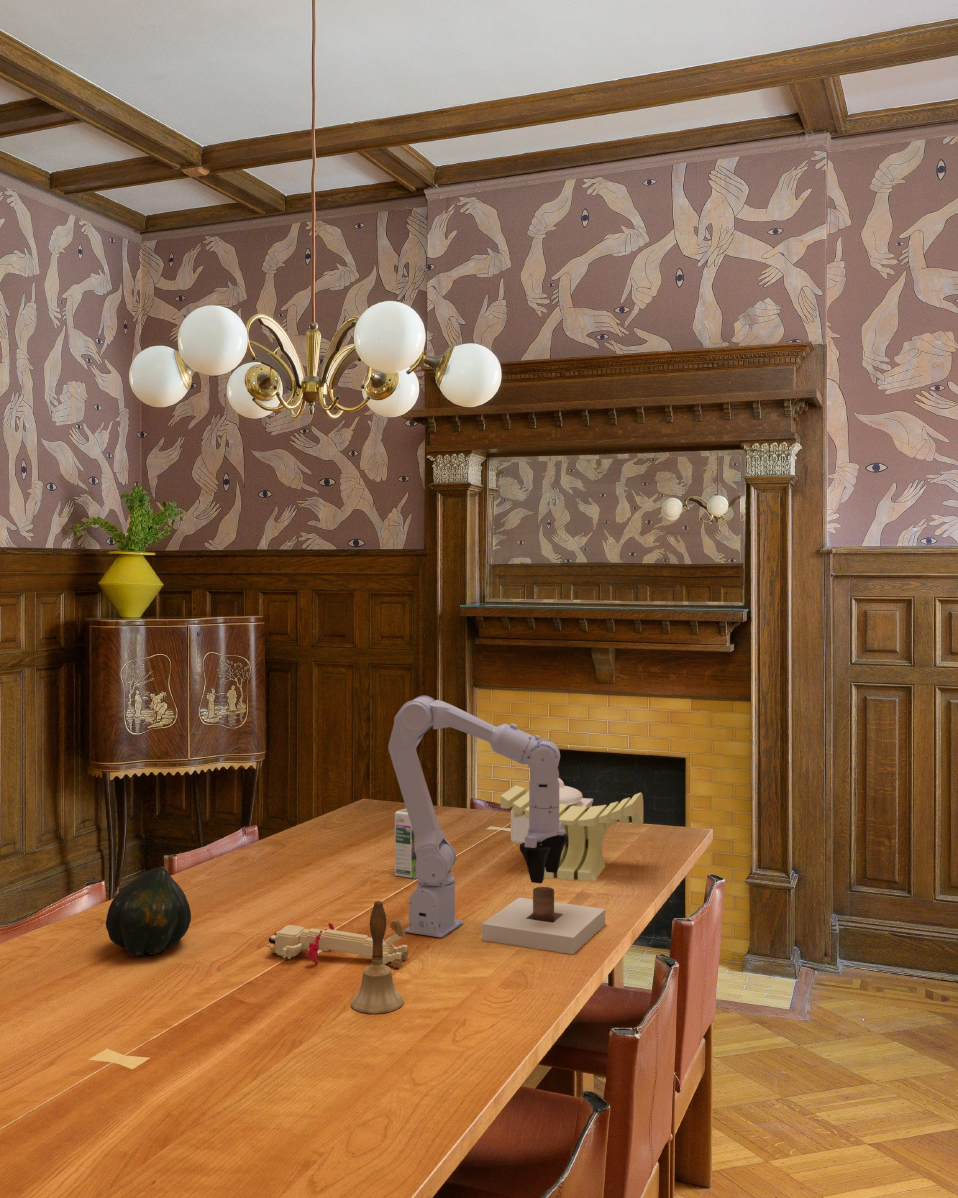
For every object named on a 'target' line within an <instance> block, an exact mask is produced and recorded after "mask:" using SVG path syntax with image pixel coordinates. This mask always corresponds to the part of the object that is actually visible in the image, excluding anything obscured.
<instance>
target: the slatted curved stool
mask: <svg viewBox="0 0 958 1198" xmlns="http://www.w3.org/2000/svg"><path fill="white" fill-rule="evenodd" d="M510 808H513V813H514V818H516V817H521V816H523V815H524V814H525V818H529V790H528V791H527V789H526V788H525V787H522V786H520V785H514V786H512V787H511V788H510V789H508V790H507V791H505V792H504V793H502V794H501V795H500V809H510ZM559 821H563V829H564V830H565V834H568V839H567V841H566V843H565V845H564V848H563V851H562V854H561V858H560V863H559V868H558V871H557V873H551V872H546V869H545V872H544V879H545V878H546V879H547V878H548V879H554V878H557V879H560V880H571V881H572V880H577V881H583V882H584V881H585V882H596V880H597V878H598V877H599V876H600V874H601V873H602V872H603V871H604V870H605V868H606V863H605V859H604V854H603V844H604V838H605V834H606V832H607V830H608V827H610V826H612V825H615V824H617V823H618V821H619V823H620V824H623V823H624V824H629V822H631V824H632V825H636V826H639V827H641V826H642V825H643V823H644V796H643V793H642V792H638V793H635V794H634V795H633V796H632V798H631V797H630V796H629V797H626V798H623V799H622V800H621V801H620V802H619V801H615V802H611V803H610V804H609V805H607V804H604V805H602V804H601V805H594V806H593V805H592V806H591V807H590V808H588V807H581V806H571V807H568V805H565V804H560V803H559Z"/></svg>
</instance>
